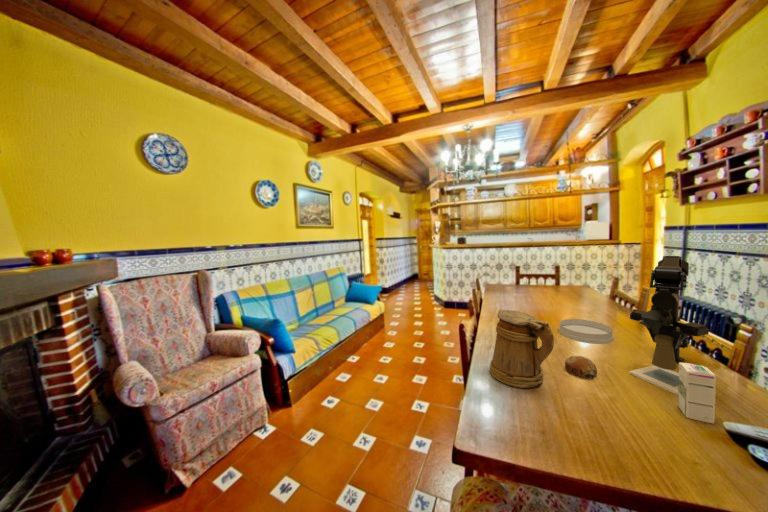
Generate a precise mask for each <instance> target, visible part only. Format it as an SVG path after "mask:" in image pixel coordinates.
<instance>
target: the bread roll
mask: <svg viewBox="0 0 768 512" xmlns="http://www.w3.org/2000/svg"><path fill="white" fill-rule="evenodd" d="M564 367H565V370H566V371H567V372H568V373H569V374H571V375H572V376H575V377H576V378H581V379H593V378H595V377H596V376H597V374H598V369H597V365H596V364H595V363H594V362H593V361H592V360H591V359H589V358H587V357H585V356H582V355H571V356H570V357H568V358H567V359H566V360H565V362H564Z"/></svg>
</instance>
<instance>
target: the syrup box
mask: <svg viewBox="0 0 768 512" xmlns="http://www.w3.org/2000/svg"><path fill="white" fill-rule="evenodd" d="M678 373H679V381H678V395H677V407H678V409H679V410H680V411H681V413H682V414H683V415H684V417H685V418H687V419H692V420H694V421H699V422H703V423H709V424H712V425H713V424H715V420H716V419H715V415H716V389H717V387H716V386H717V385H716V384H717V382H716V381H717V376H716V373H713V372H712V370H710V368H708V367H707V366H706V365H702V364H695V363H689V362H681V361H678Z"/></svg>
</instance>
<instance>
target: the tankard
mask: <svg viewBox="0 0 768 512" xmlns="http://www.w3.org/2000/svg"><path fill="white" fill-rule="evenodd" d="M497 318H498V322H497V323H496V327H495V332H496V337H495V343H494V349H493V354H492V355H493V356H492V359H491V361H490V364H489V372H490V374H491V376H492V377H493V378H494V379H496V380H497V381H499V382H500V383H503V384H506V385H508V386H511V387H515V388H522V389H531V388H535V387H536V386H539V385H541V384H542V383H543V381H544V369H543V367H542V366H541V365H542V363H543V362H544V361H545V360H547V358H548V357H549V356H550V354H551V353H552V352H553V348H554V347H555V338H554V333H553V331H552V328H551V327H550V325H549V322H547V321H543V320H540V319H537V318H536V317H535V316H534V315H531V314H529V313H527V312H524V311H520V310H511V309H510V310H509V309H507V310H505V309H500V310H499V311H498V312H497ZM539 339H540V340H541V346H540V347H539V346H538V340H539Z"/></svg>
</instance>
